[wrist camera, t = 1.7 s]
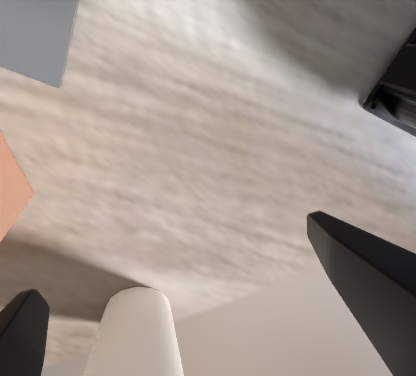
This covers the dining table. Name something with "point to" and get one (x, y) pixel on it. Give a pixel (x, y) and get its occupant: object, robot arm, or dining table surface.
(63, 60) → the plate
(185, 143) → the dining table surface
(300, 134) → the dining table surface
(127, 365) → the foam cup
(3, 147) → the peach rectangular box
